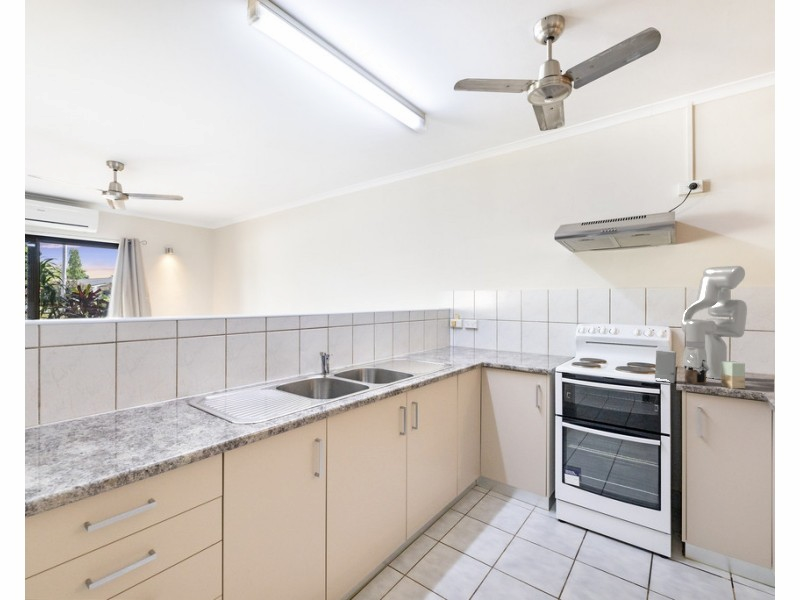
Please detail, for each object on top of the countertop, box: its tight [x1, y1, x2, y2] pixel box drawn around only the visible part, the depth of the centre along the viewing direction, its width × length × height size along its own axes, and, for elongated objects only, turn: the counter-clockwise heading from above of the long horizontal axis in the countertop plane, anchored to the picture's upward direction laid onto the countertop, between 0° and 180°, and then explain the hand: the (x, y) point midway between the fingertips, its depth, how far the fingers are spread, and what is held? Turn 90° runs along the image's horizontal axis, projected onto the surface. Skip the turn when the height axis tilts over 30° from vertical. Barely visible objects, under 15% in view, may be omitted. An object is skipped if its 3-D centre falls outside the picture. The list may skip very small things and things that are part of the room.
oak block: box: [720, 374, 746, 389], centre depth 179 cm, size 6×6×6 cm
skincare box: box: [654, 349, 677, 384], centre depth 192 cm, size 8×7×16 cm
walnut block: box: [684, 369, 707, 385], centre depth 189 cm, size 6×6×6 cm
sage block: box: [721, 360, 746, 377], centre depth 179 cm, size 6×6×6 cm
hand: (695, 380), depth 189 cm, fingers closed on walnut block, 6 cm apart
